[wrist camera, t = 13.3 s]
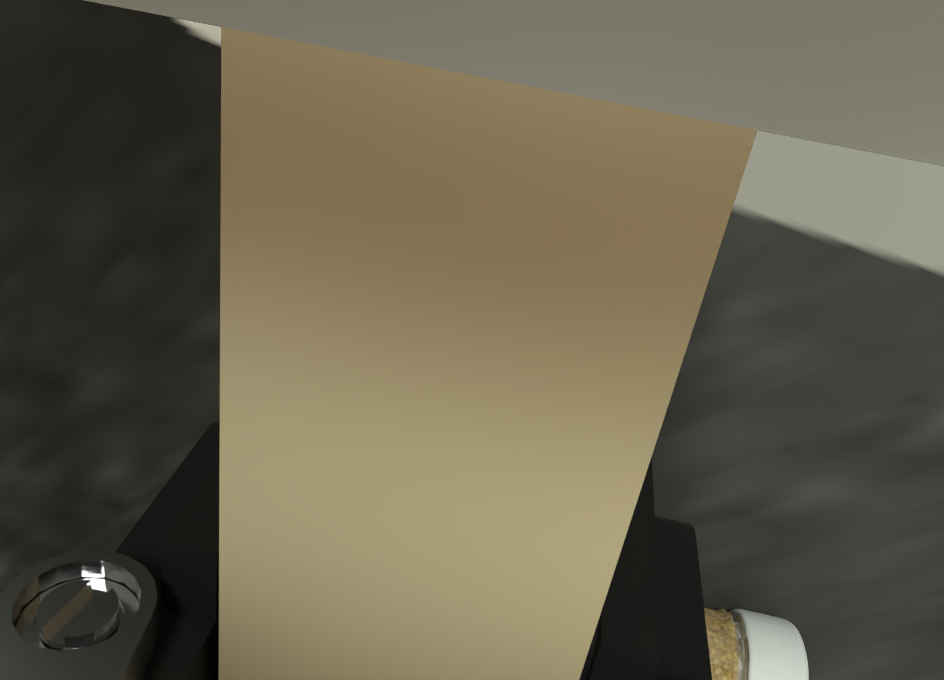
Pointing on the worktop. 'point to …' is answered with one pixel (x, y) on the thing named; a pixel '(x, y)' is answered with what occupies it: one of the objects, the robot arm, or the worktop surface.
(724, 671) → the sprinkles bottle
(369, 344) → the light brown wooden block
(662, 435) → the worktop surface
